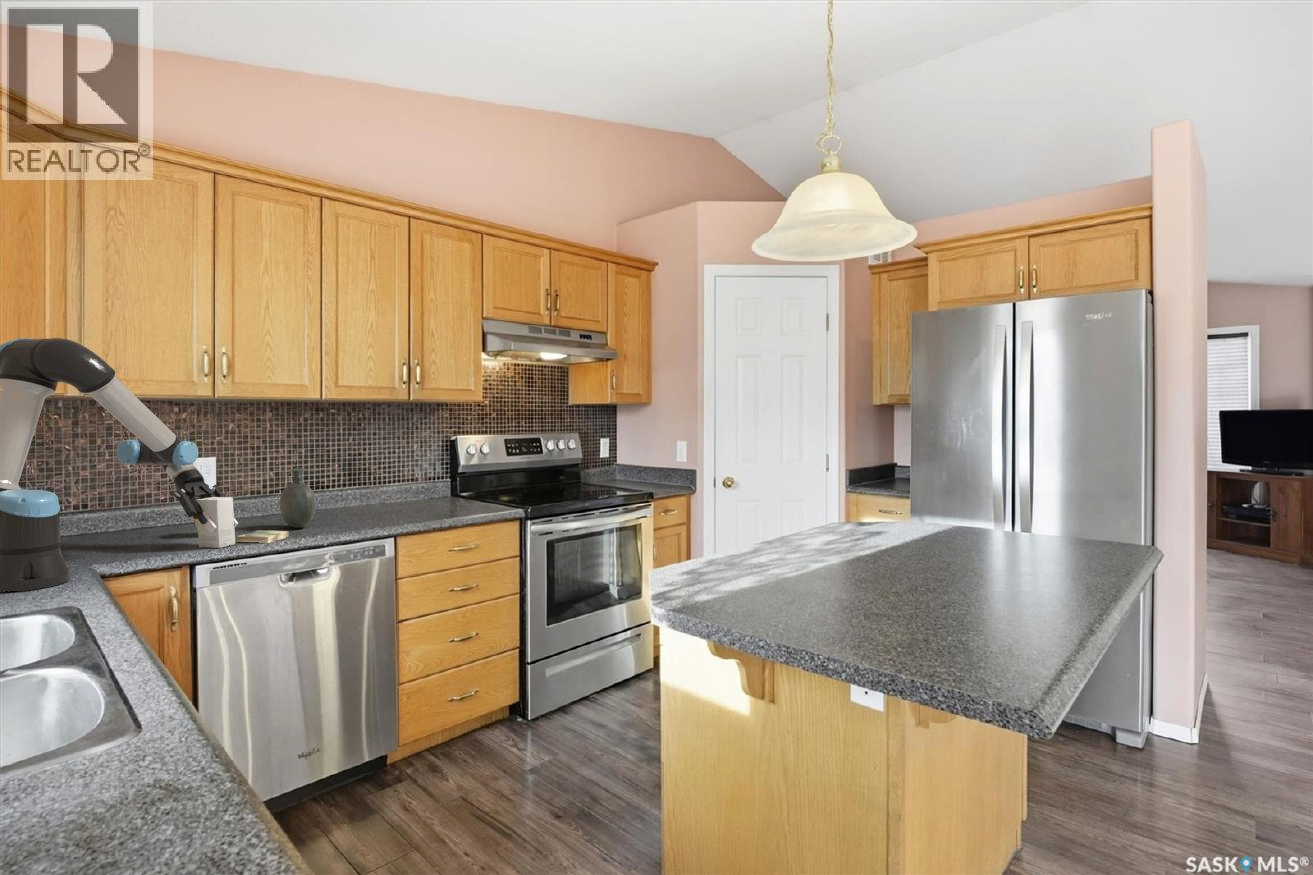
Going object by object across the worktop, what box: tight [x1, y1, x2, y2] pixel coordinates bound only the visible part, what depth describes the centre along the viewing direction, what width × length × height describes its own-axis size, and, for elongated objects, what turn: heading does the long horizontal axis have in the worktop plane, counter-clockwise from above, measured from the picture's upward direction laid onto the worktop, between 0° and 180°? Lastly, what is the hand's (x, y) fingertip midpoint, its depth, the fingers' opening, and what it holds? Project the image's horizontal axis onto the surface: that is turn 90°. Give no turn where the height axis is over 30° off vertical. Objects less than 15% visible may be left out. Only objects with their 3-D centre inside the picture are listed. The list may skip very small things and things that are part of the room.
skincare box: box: [196, 496, 236, 549], centre depth 210 cm, size 8×7×16 cm
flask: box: [278, 468, 317, 529], centre depth 244 cm, size 12×17×22 cm
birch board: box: [235, 530, 290, 544], centre depth 221 cm, size 11×11×2 cm
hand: (224, 528), depth 209 cm, fingers closed on skincare box, 7 cm apart
